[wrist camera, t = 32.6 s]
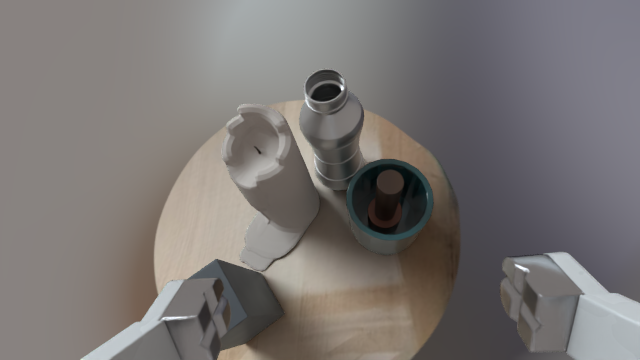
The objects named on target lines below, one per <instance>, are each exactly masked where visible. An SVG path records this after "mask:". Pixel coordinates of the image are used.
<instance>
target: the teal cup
mask: <svg viewBox="0 0 640 360" xmlns="http://www.w3.org/2000/svg"><path fill="white" fill-rule="evenodd" d="M385 170H395V171H397V172H399V173H400V174H401V175H402V177H403V179H404V186H403V189H402V192H401V196H400V199H399V203H400V205H401V208H402V217H401V219H400V222H399V225H398V227H397V228H396V230H395V231H393V232H392V233H390V234H386V235H385V234H382V233H378V232H375V231H373V230H372V229H371V228H370V226H369V224H368V206H369V204H370V202H371V201H372V200H373V199H374V198H376V187H377V178H378V176H379V175H380V173H382V172H383V171H385ZM346 203H347V210H348V215H349V220H350V225H351V228H352V231H353V234H354V236H355V238H356V239H357V241H358V242H359V243H360V244H361V245H362V246H363V247H364V248H366V249H367V250H369V251H371V252H373V253H376V254H381V255H391V254H396V253H399V252H401V251H403V250H405V249H406V248H407V247H408V246H410V245H411V244H412V243H413V241H414V240H415V238H416V237H417V236H418V234H419V233H420V231H421V230H422V228H423V227H424V226H425V224H426V223H427V221H428V220H429V218H430V216H431V213H432V208H433V193H432V189H431V187H430V185H429V183H428V180H427V179H426V177H425V176H424V175H423V174H422V173H421V172H420V171H419V170H418V169H417V168H415V167H413V166H412V165H410V164H408V163H406V162H403V161H399V160H396V159H381V160H377V161H374V162H371V163H369V164H367V165H365V166H364V167H363V168H361V169H360V170H358V171H357V173H356V174H355V175H354V177H353V178H352V179H351V181H350V183H349V186H348V189H347V193H346Z"/></svg>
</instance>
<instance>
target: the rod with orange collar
mask: <svg viewBox="0 0 640 360" xmlns="http://www.w3.org/2000/svg"><path fill="white" fill-rule="evenodd" d="M403 186H404V179H403V177H402V175H401V174H400V173H399V172H397V171H395V170H385V171H383V172H382V173H380V175H379V176H378V178H377V187H376V198H374V199H373V200H372V201H371V202H370V204H369V206H368V224H369V226H370V228H371V229H372V230H373V231H375V232H378V233H382V234H385V235H386V234H390V233H392V232H393V231H395V230H396V228H397V227H398V225H399V222H400V219H401V217H402V208H401V205H400V203H399V199H400V196H401V192H402V189H403Z"/></svg>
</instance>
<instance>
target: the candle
mask: <svg viewBox="0 0 640 360" xmlns="http://www.w3.org/2000/svg"><path fill="white" fill-rule="evenodd" d="M237 110H238V112H239V113H240V114H239V115H238V116H236V117H234V118H233V119H231V120H230V121H229V122H228V123H227V126H226V129H227V134H226V137H225V139H224V142H223V146H222V159H223V160H224V162H225V163H226V165H227V168H228V171H229V174H230V176H231V178H232V180H233V181H234V183H235V184H236V186H237V187H238V188H239V190H240V191H241V193H242V194H243V195H244V197H245V198H246V199H247V201H248V202H249V203H250V204H251V205H252V206H253V207H254V208H255V209H256V210H258V212H257V214H256V215H255V216H254V218H253V220H252V222H251V223H250V225H249V227H248V229H247V230H246V234H245V243H246V246H245V247H244V248H243V249H242V251H241V253H240V261H241V262H245V263H246V264H247V265H248V266H250V267H251V268H253V269H255V270H259V271H262V270H265V269H266V268H267V267H268V266H269V265H270V264H271V263H272V262H273V260H275V259H278V258H280V257H282V256H284V255H286V254H287V253H288V252H289V251H290V250H291V249H292V248H293V247H294V246H295V245H296V244H297V242H298V241H299V240H300V238H301V237H302V235H303V234H304V232H305V231H306V229H307V228H308V226H309V225H310V223H311V222H312V221H313V220H314V218H315V217H316V215H317V213H318V211H319V207H320V200H319V195H318V193H317V190H316V188H315V186H314V184H313V181H312V179H311V177H310V174H309V172H308V169H307V167H306V164H305V162H304V160H303V157H302V155H301V153H300V151H299V148H298V146H297V143H296V141H295V138H294V136H293V134H292V131H291V129H290V127H289V125H288V123H287V121H286V119H285V118H284V117H283V116H282V115H281V114H280V113H279V112H278V111H276V110H274V109H272V108H270V107H267V106H263V105H258V104H242V105H240V106H239V107H238V109H237Z"/></svg>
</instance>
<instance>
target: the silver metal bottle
mask: <svg viewBox="0 0 640 360" xmlns="http://www.w3.org/2000/svg"><path fill="white" fill-rule="evenodd" d="M304 94H305V102H304V104H303V106H302V108H301V112H300V117H299V125H300V129H301V131H302V133H303V135H304V137H305V139H306V140H307V142H308V143H309V144H310V146H311V147H312V150H313V152H314V154H315V173H316V176H317V178H318V179H319V181H320V182H321V183H322V184H323V185H324V186H326V187H327V188H329V189H332V190H345V189H348V186H349V183H350V181H351V179H352V178H353V177H354V175H355V174H356V173H357V171H358V170H360V169H361V168H363V167H364V159H363V156H362V153H361V151H360V147H359V138H360V134H361V130H362V127H363V120H364V111H363V108H362V105H361V104H360V102H359V100H358V99H357V97H356V96H355V95H354V94H353V93H351V92H350V91H348V88H347V86H346V81H345V78H344V76H343V75H342V74H341V73H340V72H339V71H337V70H335V69H330V68H324V69H320V70H317V71H315V72H314V73H312V74H310V75H309V76H308V78H307V79H306V81H305V83H304Z"/></svg>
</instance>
